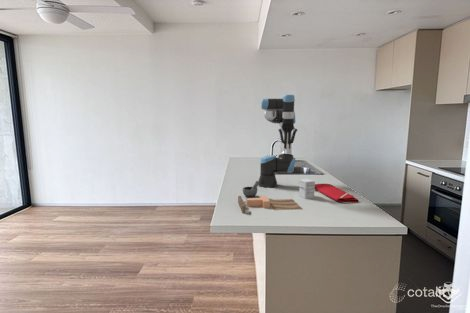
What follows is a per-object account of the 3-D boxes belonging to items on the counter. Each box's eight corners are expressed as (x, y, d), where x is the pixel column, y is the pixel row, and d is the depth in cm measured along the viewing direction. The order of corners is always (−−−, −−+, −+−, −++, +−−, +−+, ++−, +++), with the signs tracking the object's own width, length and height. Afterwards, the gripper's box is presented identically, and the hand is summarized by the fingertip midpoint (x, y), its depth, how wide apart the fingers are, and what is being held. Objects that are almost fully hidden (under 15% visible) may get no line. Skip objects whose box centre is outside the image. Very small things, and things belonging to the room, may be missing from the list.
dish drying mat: (329, 186, 228) (330, 182, 227) (359, 203, 188) (359, 197, 187) (310, 187, 226) (311, 182, 225) (336, 203, 186) (336, 198, 185)
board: (238, 202, 186) (238, 195, 185) (292, 200, 190) (292, 194, 189) (242, 213, 166) (242, 205, 166) (302, 211, 170) (303, 203, 170)
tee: (245, 202, 182) (245, 196, 181) (265, 202, 183) (266, 196, 183) (248, 208, 171) (248, 201, 170) (270, 207, 172) (270, 201, 172)
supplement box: (298, 197, 197) (299, 179, 195) (307, 196, 200) (308, 178, 198) (304, 200, 190) (305, 181, 188) (314, 199, 193) (315, 180, 191)
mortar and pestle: (242, 200, 191) (242, 182, 189) (242, 196, 200) (242, 179, 198) (259, 200, 190) (259, 182, 188) (259, 196, 199) (259, 179, 197)
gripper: (279, 118, 189) (279, 154, 193) (299, 118, 191) (298, 154, 194) (277, 118, 197) (276, 152, 200) (295, 118, 198) (294, 152, 202)
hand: (286, 153), depth 197 cm, fingers closed
